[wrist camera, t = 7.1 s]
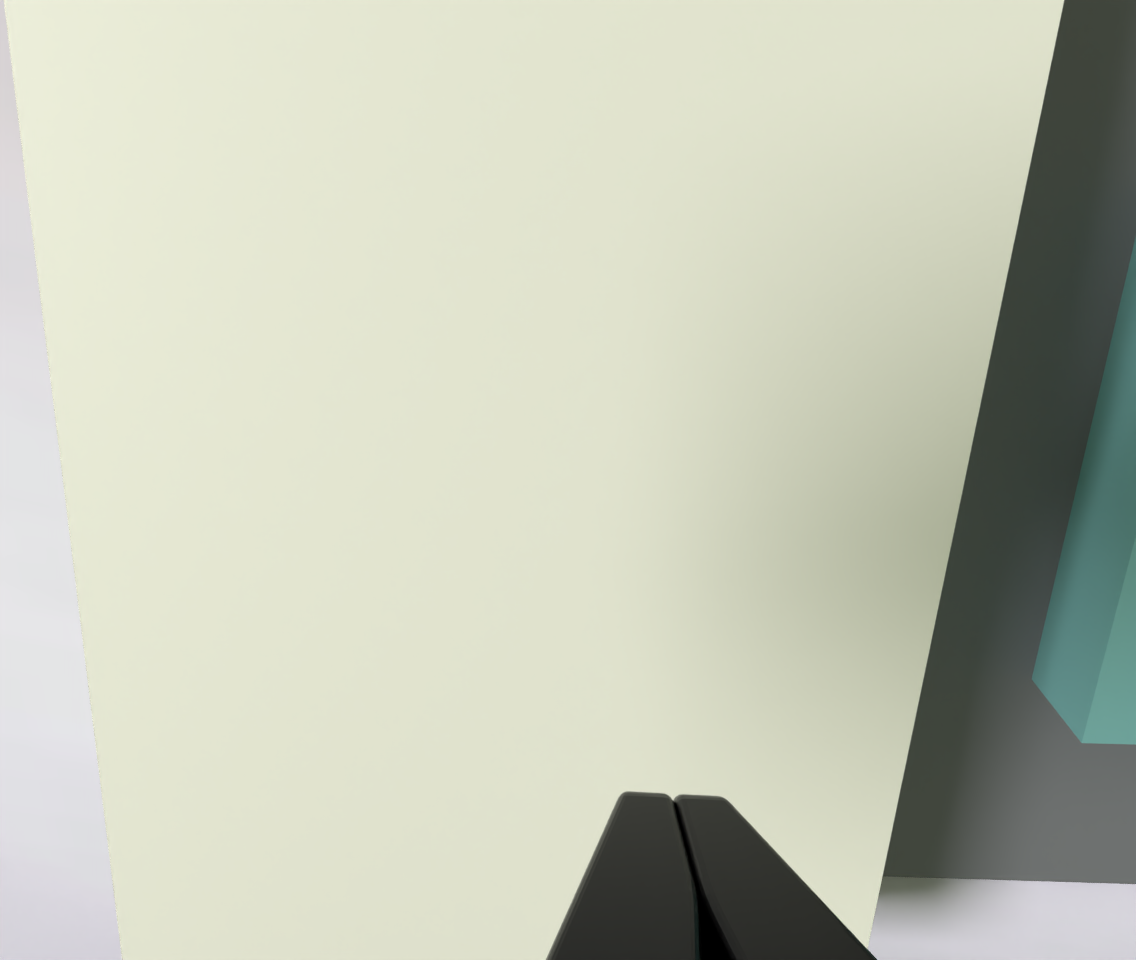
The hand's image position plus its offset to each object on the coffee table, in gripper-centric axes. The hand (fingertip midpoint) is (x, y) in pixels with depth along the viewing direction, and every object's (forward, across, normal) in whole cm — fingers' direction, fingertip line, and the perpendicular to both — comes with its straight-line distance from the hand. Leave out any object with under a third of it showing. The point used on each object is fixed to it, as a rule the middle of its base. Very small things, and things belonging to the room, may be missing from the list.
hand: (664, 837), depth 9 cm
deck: (+10, +1, 0) cm, 10 cm away
